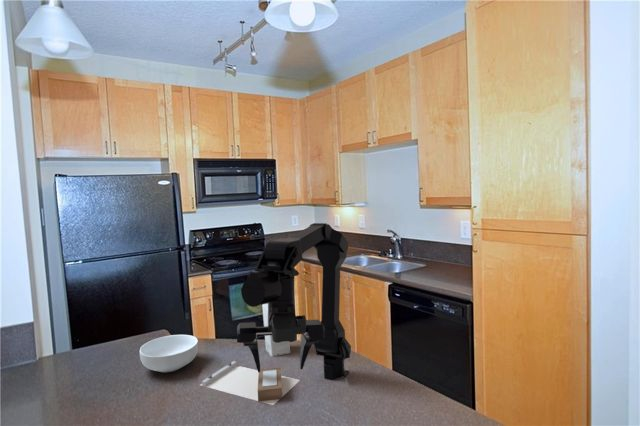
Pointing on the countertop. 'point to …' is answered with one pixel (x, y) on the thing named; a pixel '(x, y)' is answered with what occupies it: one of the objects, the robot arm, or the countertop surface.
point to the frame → (269, 384)
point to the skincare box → (272, 346)
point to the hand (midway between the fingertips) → (280, 370)
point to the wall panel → (242, 382)
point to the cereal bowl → (169, 352)
